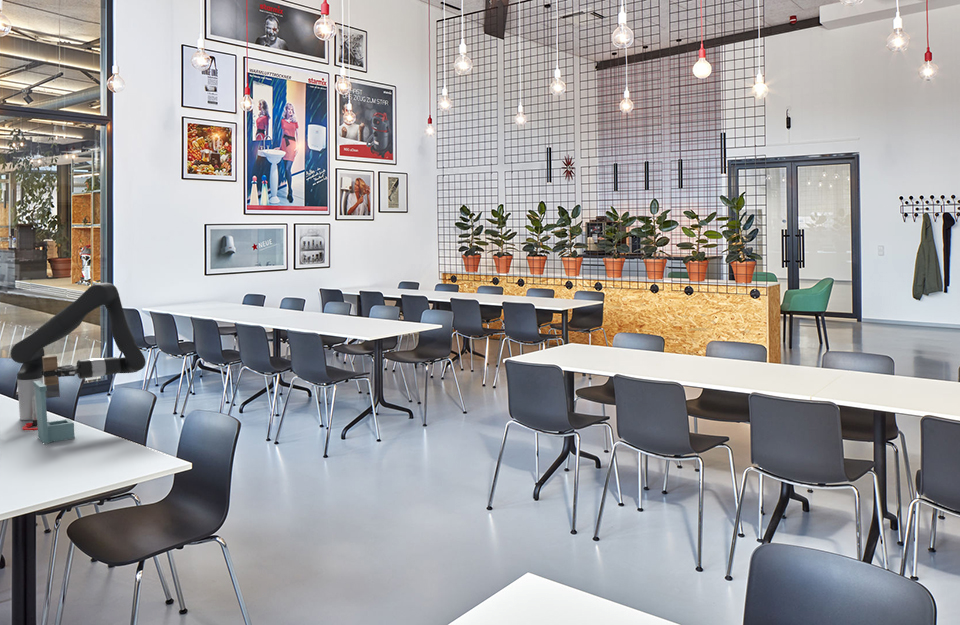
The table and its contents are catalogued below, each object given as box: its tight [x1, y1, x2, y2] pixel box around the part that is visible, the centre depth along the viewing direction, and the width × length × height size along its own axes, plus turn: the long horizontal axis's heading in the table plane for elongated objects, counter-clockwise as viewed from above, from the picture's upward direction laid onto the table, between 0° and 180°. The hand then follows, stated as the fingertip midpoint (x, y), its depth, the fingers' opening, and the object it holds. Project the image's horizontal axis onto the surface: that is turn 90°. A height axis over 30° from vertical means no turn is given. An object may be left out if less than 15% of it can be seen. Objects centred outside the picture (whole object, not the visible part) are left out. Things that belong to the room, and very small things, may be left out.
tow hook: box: [21, 395, 38, 431], centre depth 290 cm, size 8×13×9 cm
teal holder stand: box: [33, 381, 76, 445], centre depth 274 cm, size 14×11×22 cm
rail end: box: [42, 354, 61, 399], centre depth 282 cm, size 4×4×16 cm
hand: (42, 373), depth 280 cm, fingers closed on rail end, 3 cm apart
